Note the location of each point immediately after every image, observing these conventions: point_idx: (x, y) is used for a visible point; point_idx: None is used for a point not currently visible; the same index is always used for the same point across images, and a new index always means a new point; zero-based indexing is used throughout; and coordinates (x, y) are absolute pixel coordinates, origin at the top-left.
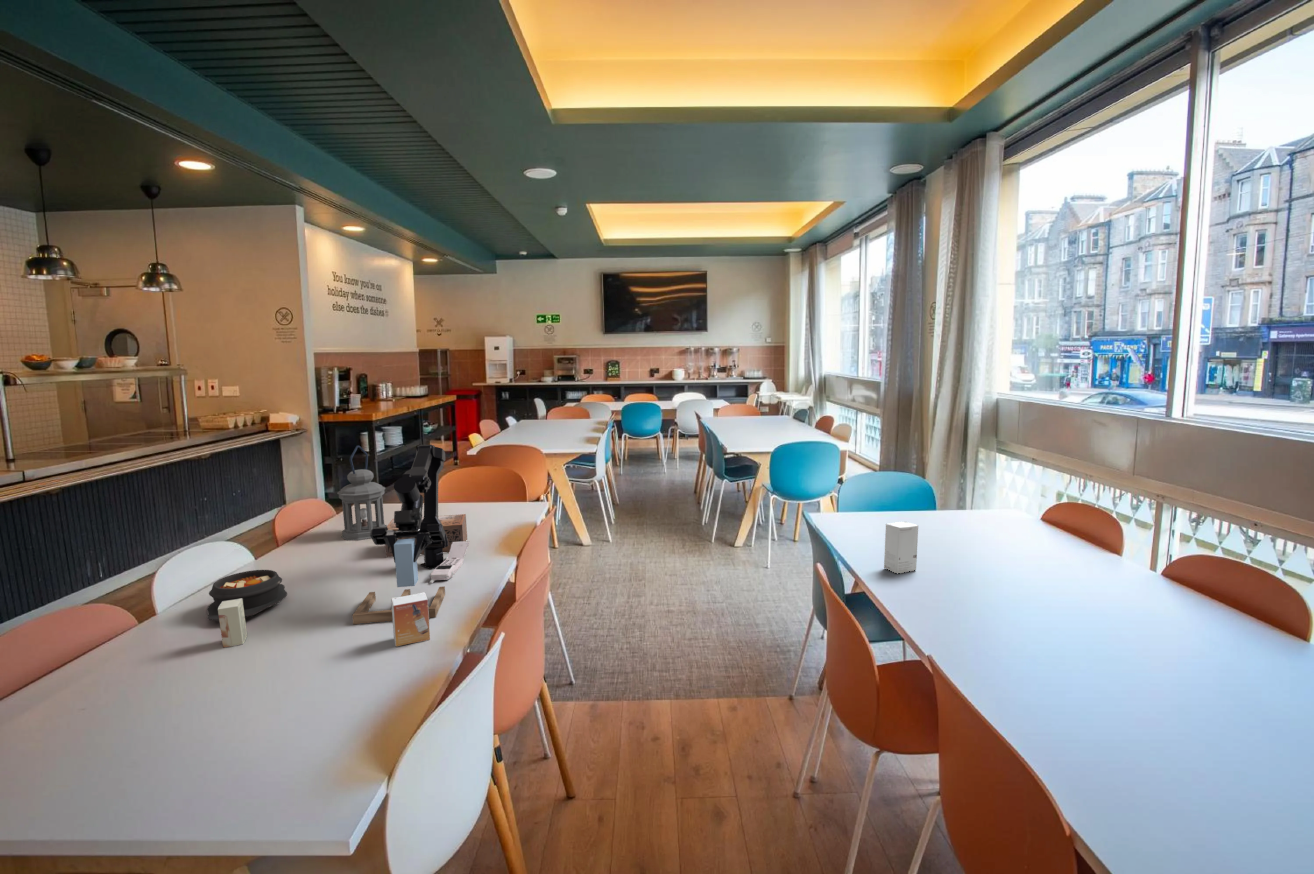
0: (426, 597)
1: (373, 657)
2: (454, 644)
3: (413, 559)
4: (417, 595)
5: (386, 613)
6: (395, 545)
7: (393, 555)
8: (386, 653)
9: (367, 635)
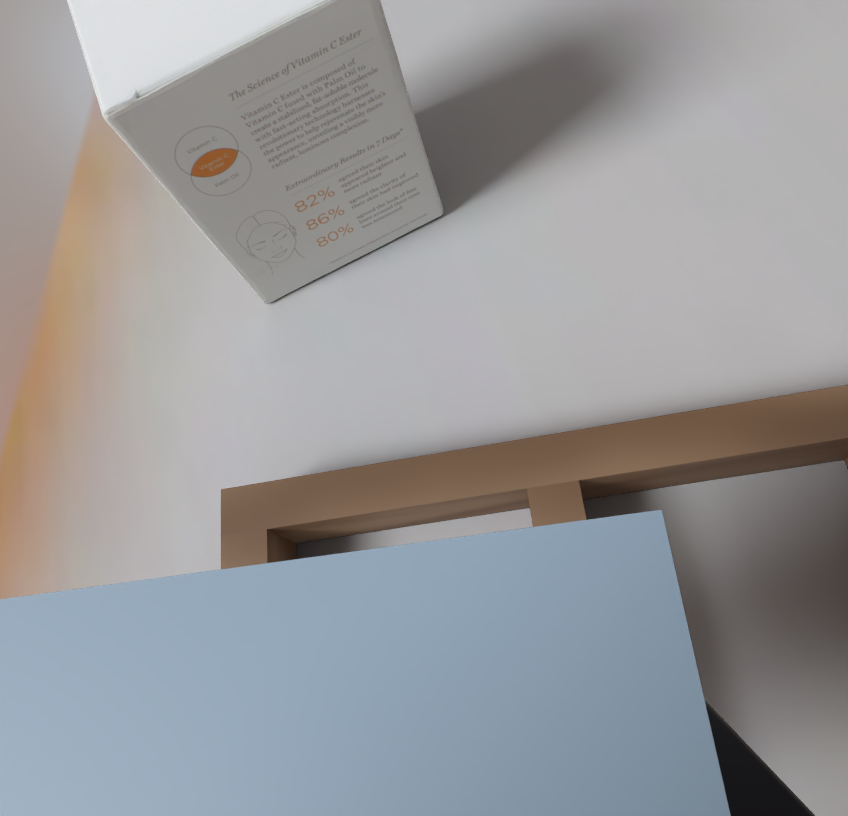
0: (74, 17)
1: (472, 29)
2: (98, 170)
3: None
4: (151, 38)
5: (609, 427)
6: (589, 537)
7: (744, 763)
8: (419, 67)
9: (643, 241)
